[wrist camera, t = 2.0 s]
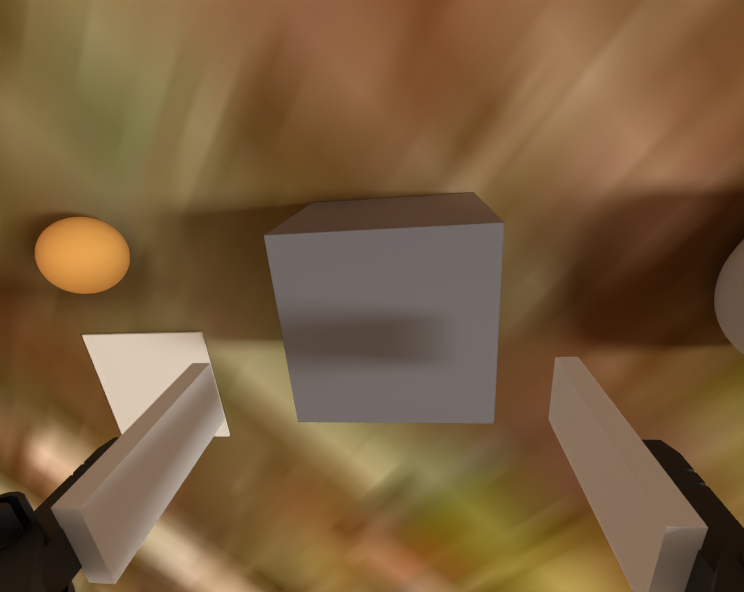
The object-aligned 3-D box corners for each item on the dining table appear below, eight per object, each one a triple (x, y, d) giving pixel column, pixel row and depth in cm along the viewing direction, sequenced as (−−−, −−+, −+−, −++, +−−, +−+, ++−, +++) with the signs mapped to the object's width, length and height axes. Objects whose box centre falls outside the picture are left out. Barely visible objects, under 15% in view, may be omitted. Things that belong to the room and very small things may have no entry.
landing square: (83, 334, 31) (81, 335, 31) (201, 331, 30) (200, 332, 30) (123, 433, 35) (122, 435, 35) (229, 434, 34) (228, 436, 33)
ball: (67, 212, 27) (-3, 228, 23) (133, 207, 27) (75, 223, 22) (92, 279, 29) (32, 307, 24) (154, 277, 28) (104, 305, 24)
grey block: (312, 202, 25) (263, 235, 17) (473, 192, 24) (504, 222, 16) (330, 341, 29) (298, 422, 21) (470, 338, 28) (493, 423, 20)
